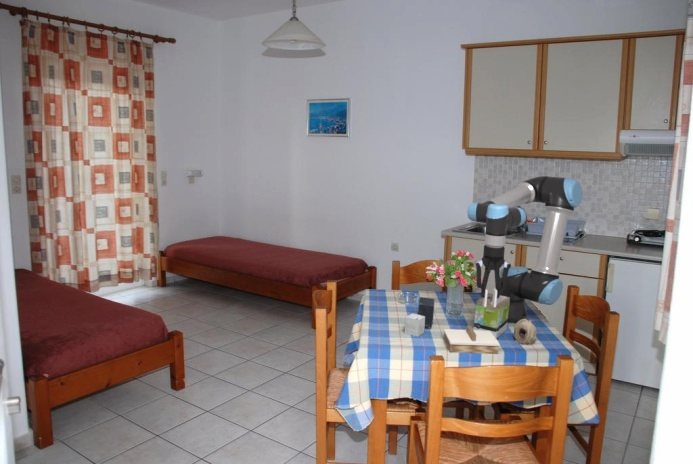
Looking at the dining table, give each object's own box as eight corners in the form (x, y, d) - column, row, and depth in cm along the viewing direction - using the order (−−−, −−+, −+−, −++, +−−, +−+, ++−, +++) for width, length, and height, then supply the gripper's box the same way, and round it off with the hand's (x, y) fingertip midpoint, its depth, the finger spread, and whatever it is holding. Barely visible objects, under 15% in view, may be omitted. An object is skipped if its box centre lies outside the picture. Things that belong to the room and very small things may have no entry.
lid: (489, 332, 221) (490, 324, 220) (499, 345, 207) (500, 337, 206) (443, 331, 220) (444, 323, 220) (450, 344, 207) (450, 335, 206)
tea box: (496, 340, 221) (499, 305, 219) (472, 335, 226) (475, 300, 224) (507, 330, 234) (510, 296, 231) (484, 325, 239) (487, 291, 236)
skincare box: (411, 329, 230) (412, 312, 229) (424, 333, 227) (425, 316, 225) (404, 333, 225) (405, 316, 224) (417, 337, 222) (418, 319, 220)
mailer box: (488, 340, 221) (489, 333, 220) (497, 353, 208) (498, 346, 207) (443, 339, 221) (444, 332, 220) (449, 352, 208) (450, 344, 207)
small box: (432, 329, 231) (433, 305, 229) (416, 328, 232) (417, 304, 230) (433, 321, 241) (435, 298, 239) (418, 319, 242) (419, 296, 240)
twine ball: (513, 344, 225) (510, 319, 226) (535, 342, 223) (531, 317, 225) (517, 346, 215) (514, 320, 217) (540, 344, 214) (536, 318, 216)
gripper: (512, 244, 211) (507, 303, 215) (470, 242, 211) (465, 302, 215) (518, 248, 203) (513, 309, 208) (475, 246, 203) (470, 308, 208)
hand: (489, 305), depth 211 cm, fingers open, 3 cm apart
